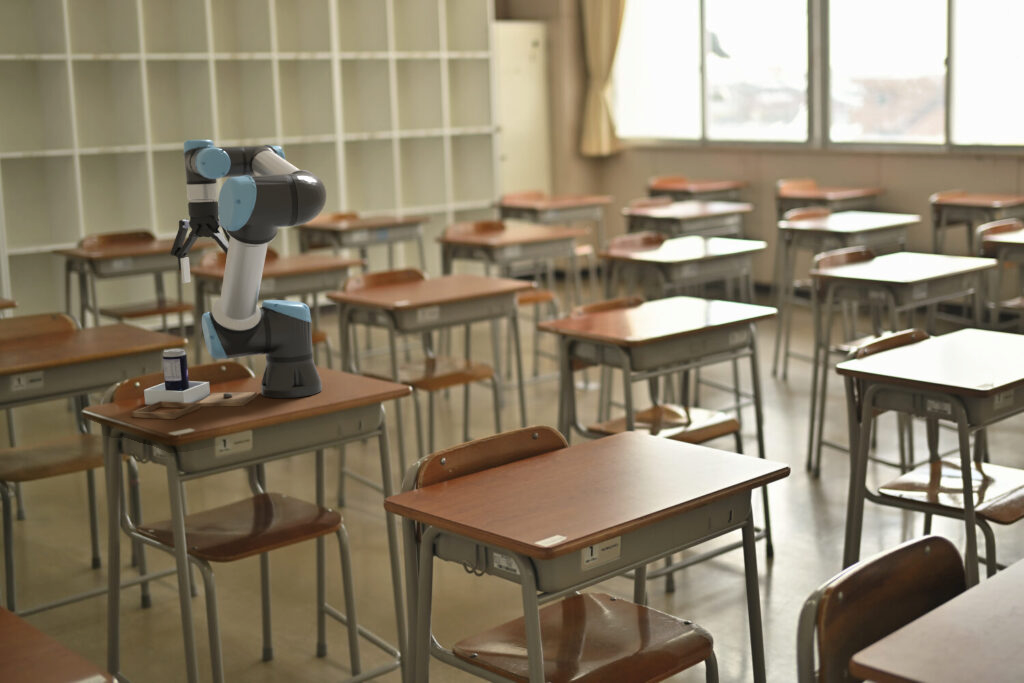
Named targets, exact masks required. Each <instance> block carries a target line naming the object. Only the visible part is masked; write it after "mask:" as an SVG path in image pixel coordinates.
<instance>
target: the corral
mask: <svg viewBox="0 0 1024 683" xmlns="http://www.w3.org/2000/svg"><path fill="white" fill-rule="evenodd" d="M159 408H178V409H180V408H181V409H180V410H177V411H174V412H173V413H168V412H154V410H157V409H159ZM200 409H201V406H200V403H199V402H194V403H186V402H167V401H159V402H157V403H154V404H151V405H149V404H148V405H145V406H144V407H141V408H138V409H136V410H133V411H131V417H132V418H143V419H149V418H150V419H162V420H163V419H165V420H175V419H177V418H180V417H182V416H184V415H187V414H190V413H192V412H194V411H197V410H200ZM152 411H153V412H152Z"/></svg>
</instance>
